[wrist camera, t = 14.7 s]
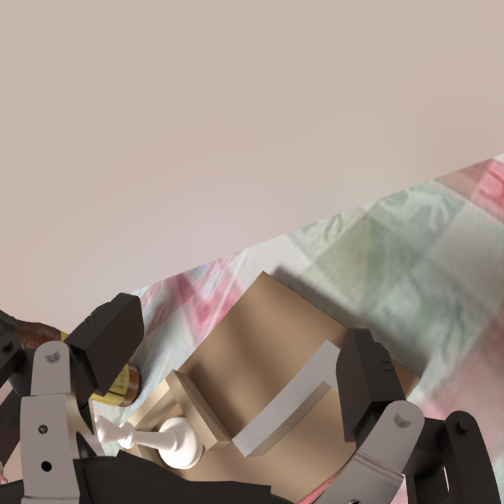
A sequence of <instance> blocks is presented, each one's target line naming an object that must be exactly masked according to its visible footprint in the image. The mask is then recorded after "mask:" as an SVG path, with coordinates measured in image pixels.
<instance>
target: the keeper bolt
mask: <svg viewBox="0 0 504 504" xmlns="http://www.w3.org/2000/svg"><path fill="white" fill-rule="evenodd" d="M339 352H340V349H339V348H338V347H336V346H335V345H334V344H332V343H331V342H330V341H328V340H327V339H326V340H325V341H324V343H323V344H322V345H321V346H320V347H319V349H318V350H317V351H316V352H315V353H314V355H313V356H312V357H311V358H310V359H309V361H308V362H307V363H306V364H305V365H304V366H303V367H302V369H301V370H300V371H299V372H298V373H297V374H296V375H295V377H294V378H293V379H292V380H291V381H290V382H289V383H288V384H287V385H286V386H285V387H284V389H283V390H282V391H281V392H280V393H279V394H278V395H277V396H276V397H275V398H274V399H273V400H272V401H271V402H270V403H269V404H268V405H267V406H266V407H265V408H264V409H263V410H262V411H261V412H260V413H259V414H258V415H257V416H256V417H255V418H254V419H253V420H252V421H251V422H250V423H249V424H248V425H247V426H246V427H245V428H244V429H243V430H242V431H241V432H240V433H239V434H237V435H236V436H235V437H234V438H233V439H232V441H233V443H234V444H235V445H236V446H237V448H238V449H239V450H240V452H241V453H242V454H243V455H244V457H256V456H262V455H263V454H264V453H265V452H267V451H268V450H269V449H270V448H271V447H272V446H273V445H274V444H276V443H277V442H278V441H279V440H280V439H281V438H282V437H283V436H284V435H285V434H286V433H287V432H288V431H289V430H290V429H292V428H293V427H294V426H295V425H296V424H297V423H298V422H299V421H300V420H301V419H302V418H303V417H304V416H305V415H306V414H307V412H308V411H309V410H310V409H311V408H312V407H313V406H314V405H315V404H316V403H317V402H318V401H319V400H320V399H321V398H322V396H323V395H324V394H325V393H326V392H327V391H328V390H329V389H330V387H332V388H333V389H334V390H336V391H337V392H338V385H337V379H336V362H337V358H338V355H339ZM338 393H339V392H338Z"/></svg>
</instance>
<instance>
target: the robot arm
mask: <svg viewBox="0 0 504 504" xmlns="http://www.w3.org/2000/svg"><path fill="white" fill-rule="evenodd" d="M143 336H144V324H143V317H142V309H141V302H140V298H139V297H138V296H135V295H130V294H126V293H119V294H118V295H117V296H116V297H115V298H114V299H113V300H112V301H111V302H107V303H105V304H103V305H101V306H99V307H97V308H96V309H95V310H94V311H93V312H92V313H91V314H90V316H88V317H87V318H86V319H85V320H84V322H82V323H81V324H80V325H79V326H78V327H77V328H76V329H75V330H74V331H73V332H72V333H71V334H70V335H69V336H68V337H67V338H66V339H65V340H64V341H63V342H61V341H49V342H46V343H44V344H42V345H41V346H39V347H38V349H31V348H25V347H23V344H22V342H21V340H20V338H19V337H18V336H17V335H15V334H7V335H4V336H2V337H0V388H1V387H2V386H3V384H4V383H5V382H6V381H7V380H8V381H9V382H10V384H11V386H12V387H13V390H12V391H11V392H10V393H9V395H8V396H7V397H6V399H5V400H4V402H3V403H2V404H1V405H0V504H295V503H293V502H291V501H289V500H287V499H285V498H283V497H280V496H278V495H275V494H271V485H261V484H252V483H244V482H237V481H189V480H186V479H184V478H182V477H180V476H178V475H176V474H174V473H172V472H170V471H169V470H167V469H165V468H163V467H161V466H160V465H158V464H156V463H155V462H153V461H150V460H147V459H144V458H141V457H138V456H136V455H133V454H130V453H128V452H125V451H123V450H119V452H118V454H117V456H116V457H114V456H105V453H104V451H103V449H102V447H101V445H100V442H99V438H98V434H97V429H96V424H95V419H94V414H93V408H92V402H91V399H90V397H91V395H92V394H93V393H95V394H97V395H99V396H102V397H104V396H105V395H106V393H107V392H108V390H109V389H110V387H111V386H112V384H113V383H114V381H115V380H116V378H117V377H118V375H119V374H120V372H121V371H122V369H123V368H124V366H125V365H126V363H127V362H128V361H129V359H130V358H131V356H132V355H133V353H134V352H135V350H136V349H137V347H138V346H139V345H140V343H141V341H142V339H143ZM336 379H337V385H338V392H339V399H340V407H341V414H342V422H343V431H344V440H345V443H346V442H355V443H356V450H355V451H354V452H353V454H352V455H351V456H350V458H349V459H348V460H347V461H346V463H345V464H344V465H343V467H342V468H341V469H340V470H339V471H338V473H337V474H336V475H335V476H334V477H333V479H332V480H331V481H330V482H329V483H328V484H327V486H326V487H325V488H324V489H323V490H322V491H321V492H320V493H319V494H318V495H317V496H316V497H315V498H314V499H313V500H312V501H311V502H310V503H309V504H390V503H391V501H392V500H393V498H394V497H395V495H396V493H397V491H398V490H399V488H400V486H401V484H402V482H403V479H404V476H402V475H401V474H405V478H406V486H407V495H408V504H501V501H500V496H499V492H498V487H497V483H496V479H495V476H494V472H493V468H492V465H491V462H490V458H489V455H488V452H487V449H486V446H485V443H484V440H483V438H482V435H481V432H480V429H479V427H478V424H477V422H476V420H475V419H474V417H473V416H471V415H470V414H469V413H467V412H464V411H454V412H452V413H451V414H450V415H449V416H448V417H447V418H446V419H445V421H444V420H437V419H431V418H426V417H424V415H423V413H422V411H421V410H420V409H419V408H418V407H417V406H416V405H415V404H413V403H411V402H408V401H406V398H405V395H404V392H403V389H402V387H401V384H400V381H399V378H398V376H397V373H396V372H395V368H394V365H393V363H392V360H391V358H390V355H389V353H388V351H387V350H386V349H385V348H384V347H383V346H382V345H381V344H380V343H377V342H374V340H373V338H372V335H371V333H370V330H369V329H363V328H349V329H348V330H347V332H346V335H345V338H344V341H343V344H342V347H341V350H340V352H339V355H338V358H337V362H336ZM19 441H20V446H21V462H22V473H23V479H21V480H18V481H14V482H10V483H8V479H7V477H6V475H5V474H4V473H3V468H4V466H5V464H6V463H7V461H8V459H9V457H10V456H11V454H12V452H13V451H14V449H15V447H16V445H17V444H18V442H19ZM444 467H445V469H446V474H447V479H448V484H449V492H448V488H447V482H446V477H445V472H444Z"/></svg>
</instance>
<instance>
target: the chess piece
mask: <svg viewBox="0 0 504 504" xmlns="http://www.w3.org/2000/svg"><path fill="white" fill-rule="evenodd" d="M94 419H95V424H96V429H97V434H98V438H99V442H100V443H103V442H109V441H119V443H120V445H121V446H122V447H124V448H126V449H130V448H132V447H133V445H134V444H135V443H137V444H141V445H145V446H149V447H152V448H156V449H158V450H159V453H160V455H161V457H162V459H163V460H164V461H165V462H166V463H167V464H168V465H169V466H171V467H174V468H179V469H189V468H191V467H193V466H194V465H196V464H197V462H198V461H199V460H200V458H201V455H202V452H203V443H202V442H201V440H200V439H199V437H198V436H197V434H196V432H195V431H194V429H193V428H192V426H191V424H190V423H189V421H188V419H187V418H185V417H174V418H170V419H168V420H167V421H166V422H165V423H164V424H163V425H162V427H161V428H160V430H159V432H142V431H135V428H134V426H133V425H132V424H131V423H130V422H124V423H122V424H121V425H120V426H117V425H116V424H114V423H112V422H110V421H109V420H108V419H106V418H105V417H103V416H97V417H95V418H94Z"/></svg>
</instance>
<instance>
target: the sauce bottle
mask: <svg viewBox="0 0 504 504" xmlns="http://www.w3.org/2000/svg"><path fill="white" fill-rule="evenodd" d="M7 334H15V335H17V336H18V337H19V338H20V340H21V342H22V344H23V347H25V348H31V349H38V347H39V346H41V345H42V344H44V343H46V342H49V341H61V342H63V341H64V340H65V339H66V338H67V337H68V336H69V334H66V333H64V332H62V331H60V330H58V329H56V328H54V327H51V326H48V325H45V324H42V323H35V322H34V323H33V322H32V323H31V322H25V321H21V320H17V319H15V318H14V317H12V316H9V315H8V314H6V313H5V312H3V311H1V310H0V337H2V336H4V335H7ZM139 385H140V377H139V372H138V369H137V368H136V366H135V365H134V364H133V363H131V362H129V361H128V362H127V363H126V365H125V366H124V368H123V369H122V371H121V372H120V374H119V375H118V377H117V378H116V380H115V381H114V383H113V384H112V386H111V387H110V389H109V390H108V392H107V393H106V395H105V396H104V397H102V396H99V395H97V394H95V393H93V394H92V395H91V397H90V399H91V400H94V401H97V402H101V403H104V404H108V405H112V406H120V407H127V406H128V405H130V404H131V403H132V402H133V401H134V399H135V398H136V396H137V393H138V389H139Z"/></svg>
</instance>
